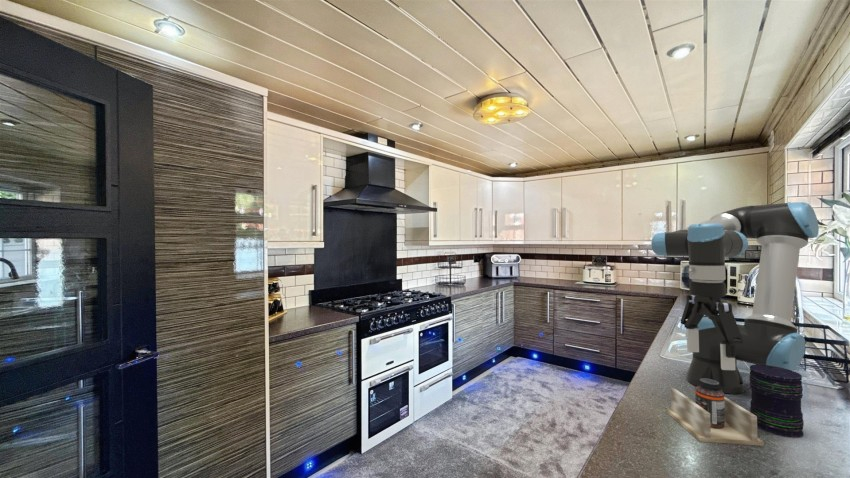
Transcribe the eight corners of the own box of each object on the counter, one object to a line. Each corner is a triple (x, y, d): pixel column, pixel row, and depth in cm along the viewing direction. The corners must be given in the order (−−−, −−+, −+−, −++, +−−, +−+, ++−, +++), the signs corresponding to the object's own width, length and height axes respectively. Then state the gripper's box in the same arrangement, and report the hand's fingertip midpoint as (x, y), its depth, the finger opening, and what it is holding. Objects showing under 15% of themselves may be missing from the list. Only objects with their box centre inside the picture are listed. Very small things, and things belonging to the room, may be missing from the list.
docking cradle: (665, 411, 99) (665, 387, 99) (719, 414, 97) (718, 390, 97) (699, 441, 84) (699, 413, 84) (763, 445, 82) (762, 416, 82)
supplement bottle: (690, 418, 93) (689, 376, 93) (710, 417, 93) (709, 375, 94) (710, 430, 87) (709, 385, 87) (731, 428, 87) (730, 384, 88)
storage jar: (811, 442, 83) (809, 381, 83) (756, 431, 88) (755, 373, 88) (795, 424, 91) (793, 368, 92) (745, 414, 96) (744, 362, 97)
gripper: (665, 276, 104) (667, 345, 103) (725, 287, 79) (728, 378, 79) (692, 275, 103) (694, 345, 102) (761, 287, 78) (764, 379, 78)
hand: (709, 360), depth 91 cm, fingers open, 13 cm apart
